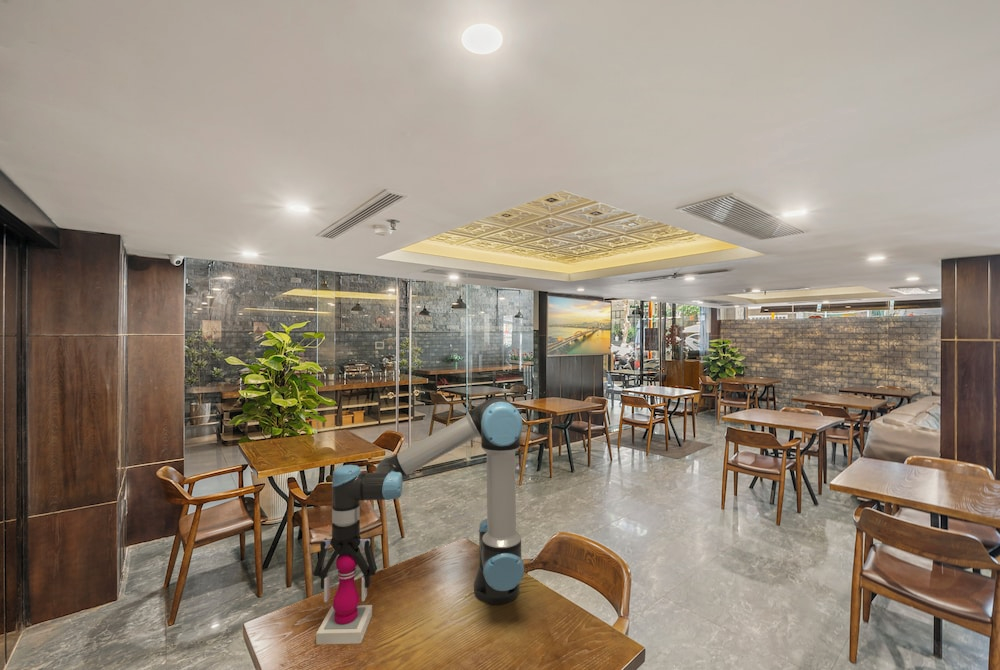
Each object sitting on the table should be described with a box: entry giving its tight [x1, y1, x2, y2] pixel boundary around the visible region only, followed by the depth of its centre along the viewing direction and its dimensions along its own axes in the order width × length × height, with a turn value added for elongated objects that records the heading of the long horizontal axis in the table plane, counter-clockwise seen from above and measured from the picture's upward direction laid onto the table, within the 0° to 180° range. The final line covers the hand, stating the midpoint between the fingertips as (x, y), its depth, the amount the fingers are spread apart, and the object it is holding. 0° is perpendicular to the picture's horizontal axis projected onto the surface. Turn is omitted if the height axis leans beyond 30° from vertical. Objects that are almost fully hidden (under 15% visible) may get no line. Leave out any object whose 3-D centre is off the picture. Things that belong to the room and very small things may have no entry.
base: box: [315, 604, 373, 645], centre depth 123 cm, size 12×12×3 cm
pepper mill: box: [332, 554, 360, 624], centre depth 123 cm, size 7×7×20 cm
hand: (345, 598), depth 123 cm, fingers open, 10 cm apart
